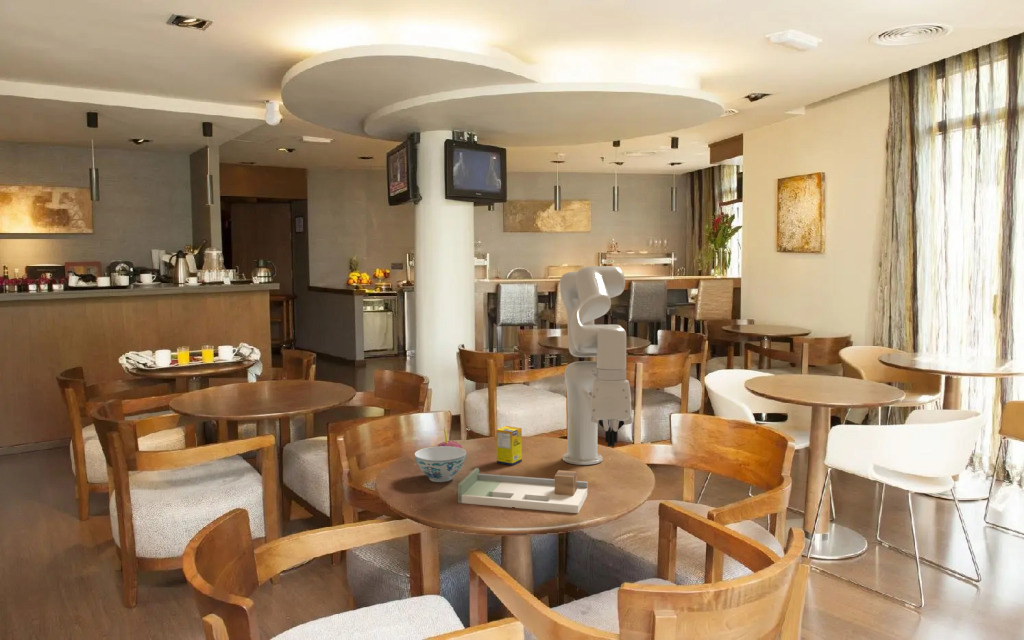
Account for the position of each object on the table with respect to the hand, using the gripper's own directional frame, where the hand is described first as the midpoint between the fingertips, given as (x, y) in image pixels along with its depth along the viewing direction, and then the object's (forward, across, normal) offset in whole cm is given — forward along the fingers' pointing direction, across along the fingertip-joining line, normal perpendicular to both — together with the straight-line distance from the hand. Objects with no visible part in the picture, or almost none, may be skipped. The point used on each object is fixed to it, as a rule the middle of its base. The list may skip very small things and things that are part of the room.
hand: (611, 445), depth 182 cm
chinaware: (+15, -51, +10) cm, 54 cm away
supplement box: (+15, -36, +31) cm, 50 cm away
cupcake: (+15, -54, +25) cm, 62 cm away
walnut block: (+13, -12, +1) cm, 18 cm away
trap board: (+15, -23, -1) cm, 28 cm away
